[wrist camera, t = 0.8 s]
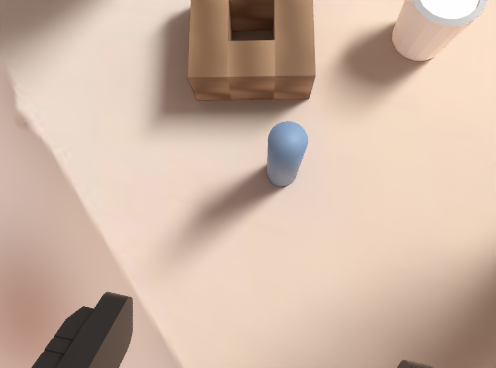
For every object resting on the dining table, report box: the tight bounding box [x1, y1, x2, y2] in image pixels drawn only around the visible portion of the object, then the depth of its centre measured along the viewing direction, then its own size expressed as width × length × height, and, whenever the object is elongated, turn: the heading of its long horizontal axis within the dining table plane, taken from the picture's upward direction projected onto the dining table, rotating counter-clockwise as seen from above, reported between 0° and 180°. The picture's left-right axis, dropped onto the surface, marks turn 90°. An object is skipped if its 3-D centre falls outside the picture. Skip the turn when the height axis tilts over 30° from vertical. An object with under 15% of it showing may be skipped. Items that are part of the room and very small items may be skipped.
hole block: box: [188, 0, 315, 100], centre depth 39 cm, size 12×12×5 cm
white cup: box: [392, 0, 487, 61], centre depth 37 cm, size 7×7×7 cm
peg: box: [267, 122, 308, 186], centre depth 33 cm, size 3×3×10 cm
